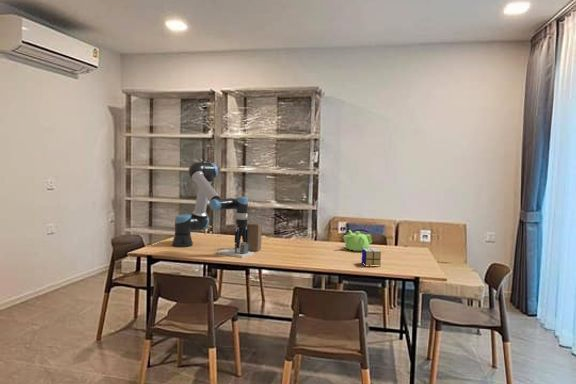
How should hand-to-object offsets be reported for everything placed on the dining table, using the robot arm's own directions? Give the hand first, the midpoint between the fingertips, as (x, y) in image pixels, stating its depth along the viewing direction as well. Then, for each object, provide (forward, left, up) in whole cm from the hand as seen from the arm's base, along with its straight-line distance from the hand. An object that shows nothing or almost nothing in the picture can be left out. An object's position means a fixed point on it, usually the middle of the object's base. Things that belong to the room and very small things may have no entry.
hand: (241, 251), depth 302 cm
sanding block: (0, 0, 0) cm, 0 cm away
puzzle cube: (+84, +30, -2) cm, 89 cm away
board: (-5, 0, -2) cm, 5 cm away
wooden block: (-3, +19, -2) cm, 19 cm away
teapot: (+57, +73, -2) cm, 93 cm away
